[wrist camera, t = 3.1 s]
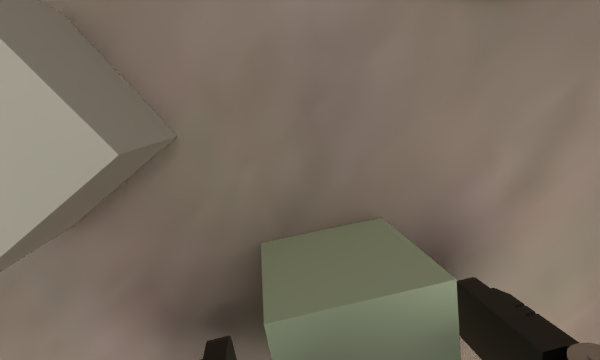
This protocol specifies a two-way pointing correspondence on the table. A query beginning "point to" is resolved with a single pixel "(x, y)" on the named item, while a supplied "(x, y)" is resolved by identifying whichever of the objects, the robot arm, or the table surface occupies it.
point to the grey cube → (61, 127)
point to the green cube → (357, 297)
